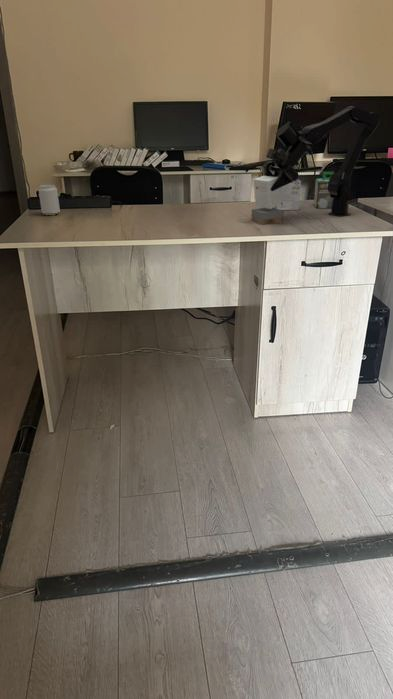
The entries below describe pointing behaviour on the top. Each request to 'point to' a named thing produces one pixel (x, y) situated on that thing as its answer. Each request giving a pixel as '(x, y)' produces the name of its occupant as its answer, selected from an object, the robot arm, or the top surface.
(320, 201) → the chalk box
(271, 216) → the upper block
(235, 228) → the top surface
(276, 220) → the lower block
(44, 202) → the can
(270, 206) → the small box
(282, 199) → the ink cartridge box
